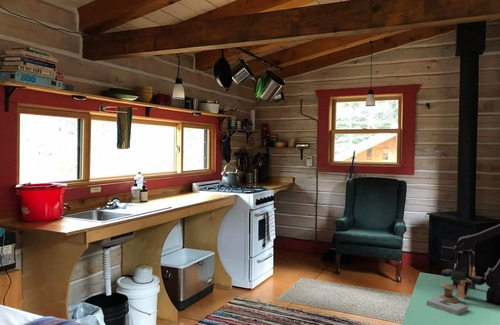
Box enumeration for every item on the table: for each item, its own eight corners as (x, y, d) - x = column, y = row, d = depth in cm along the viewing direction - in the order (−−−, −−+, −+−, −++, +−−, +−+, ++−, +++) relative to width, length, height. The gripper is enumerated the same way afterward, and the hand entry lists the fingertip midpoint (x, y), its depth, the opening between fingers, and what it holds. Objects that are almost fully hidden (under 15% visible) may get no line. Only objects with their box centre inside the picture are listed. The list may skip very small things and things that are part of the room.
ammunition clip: (452, 285, 222) (453, 263, 222) (453, 284, 224) (454, 262, 223) (474, 289, 216) (475, 267, 215) (475, 288, 217) (476, 266, 217)
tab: (466, 297, 204) (467, 285, 204) (463, 298, 201) (463, 286, 201) (460, 295, 206) (461, 283, 206) (457, 296, 204) (457, 284, 204)
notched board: (467, 310, 186) (467, 305, 186) (456, 314, 180) (457, 310, 180) (437, 300, 197) (437, 296, 197) (426, 304, 191) (426, 300, 191)
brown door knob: (461, 300, 199) (462, 287, 198) (452, 304, 193) (453, 290, 193) (443, 295, 206) (444, 282, 205) (434, 298, 200) (434, 285, 200)
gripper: (436, 260, 206) (435, 291, 206) (475, 269, 191) (474, 302, 192) (447, 257, 213) (446, 287, 213) (486, 266, 198) (484, 298, 198)
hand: (462, 293), depth 204 cm, fingers closed on tab, 3 cm apart
